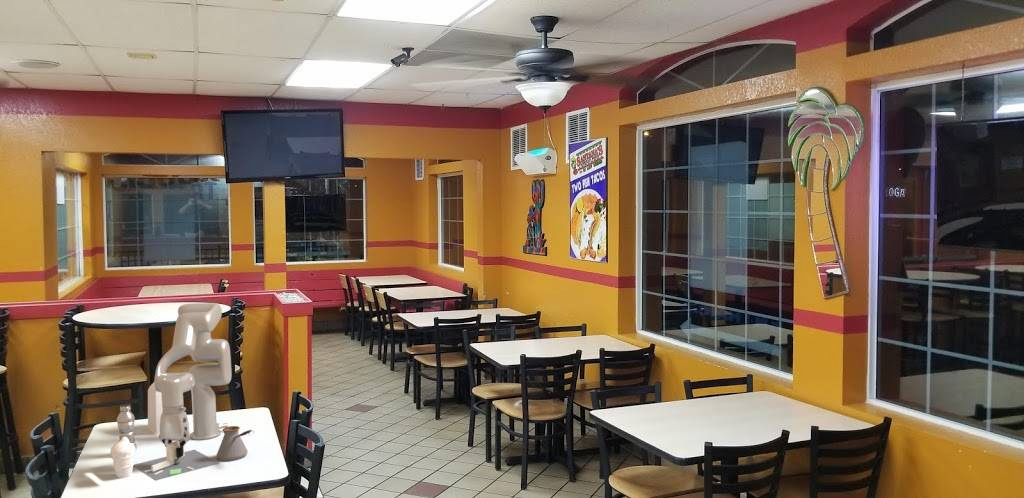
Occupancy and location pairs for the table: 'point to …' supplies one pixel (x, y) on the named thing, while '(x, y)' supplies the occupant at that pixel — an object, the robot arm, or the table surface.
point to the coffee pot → (232, 444)
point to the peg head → (168, 457)
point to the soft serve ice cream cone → (123, 457)
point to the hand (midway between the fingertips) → (175, 456)
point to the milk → (154, 409)
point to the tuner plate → (176, 465)
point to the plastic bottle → (126, 424)
